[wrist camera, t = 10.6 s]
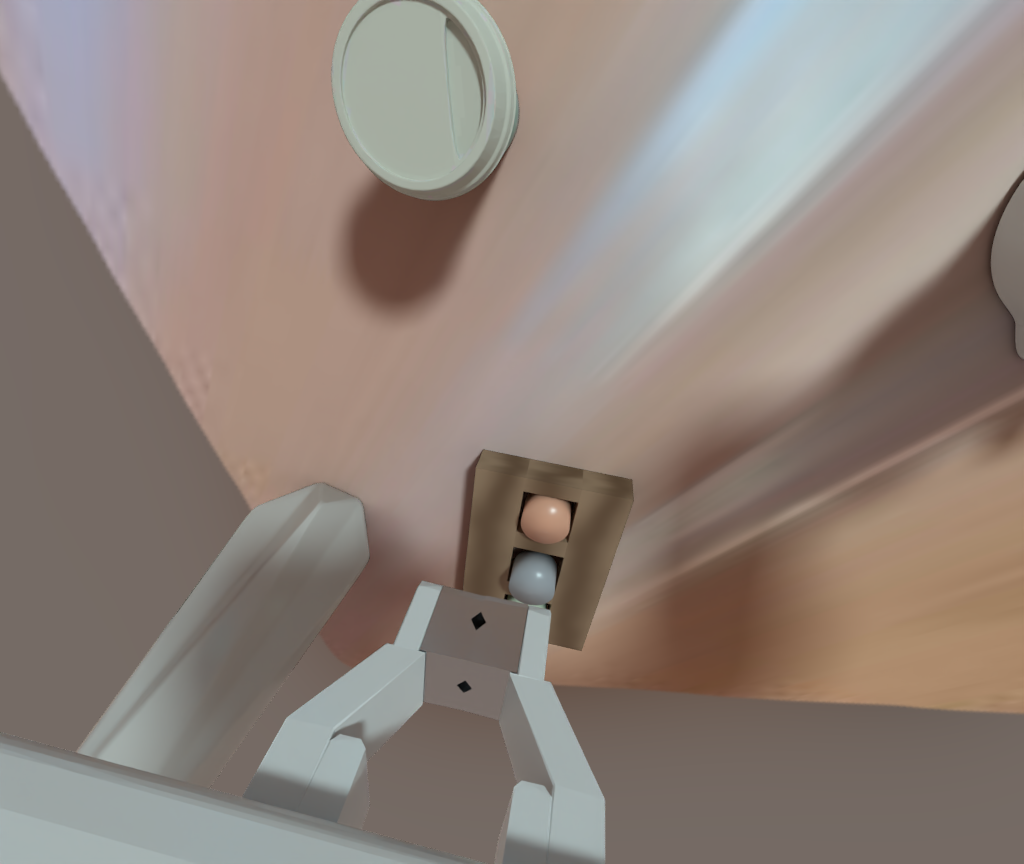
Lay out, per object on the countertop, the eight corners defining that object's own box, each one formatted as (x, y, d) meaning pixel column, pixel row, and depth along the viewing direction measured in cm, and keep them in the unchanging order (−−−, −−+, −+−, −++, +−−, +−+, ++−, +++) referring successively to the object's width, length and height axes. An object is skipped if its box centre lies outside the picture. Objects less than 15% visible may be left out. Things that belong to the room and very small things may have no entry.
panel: (632, 479, 43) (633, 500, 41) (582, 627, 55) (581, 651, 52) (483, 449, 44) (475, 467, 42) (465, 601, 56) (459, 622, 53)
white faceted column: (392, 560, 54) (170, 993, 27) (297, 541, 55) (-12, 938, 28) (388, 477, 48) (90, 934, 20) (281, 457, 49) (-143, 864, 21)
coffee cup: (500, 211, 33) (455, 239, 23) (393, 141, 32) (297, 138, 22) (567, 80, 29) (547, 44, 19) (445, -7, 28) (354, -95, 18)
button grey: (560, 555, 46) (558, 579, 43) (553, 585, 48) (550, 609, 46) (516, 546, 46) (511, 568, 44) (511, 576, 49) (506, 599, 46)
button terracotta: (575, 491, 43) (574, 512, 41) (566, 526, 46) (564, 548, 43) (529, 481, 44) (524, 502, 41) (522, 516, 46) (517, 538, 44)
